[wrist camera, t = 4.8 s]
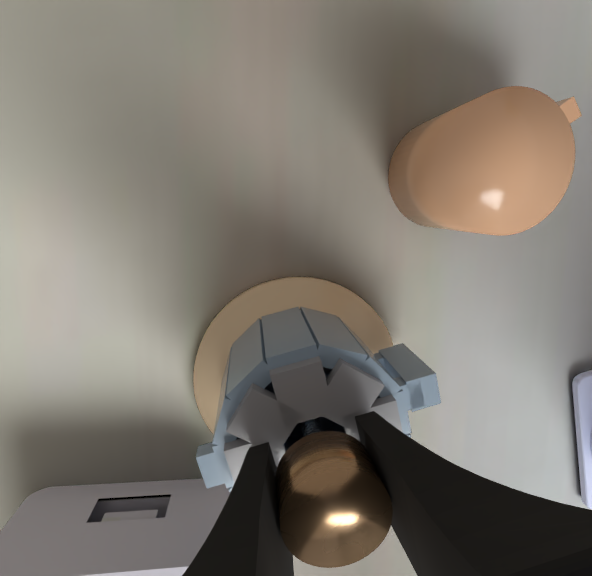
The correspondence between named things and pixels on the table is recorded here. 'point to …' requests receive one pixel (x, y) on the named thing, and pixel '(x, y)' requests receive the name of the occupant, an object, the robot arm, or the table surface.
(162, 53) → the table surface
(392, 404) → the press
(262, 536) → the robot arm
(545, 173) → the cup
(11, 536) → the charger
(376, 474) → the plunger
